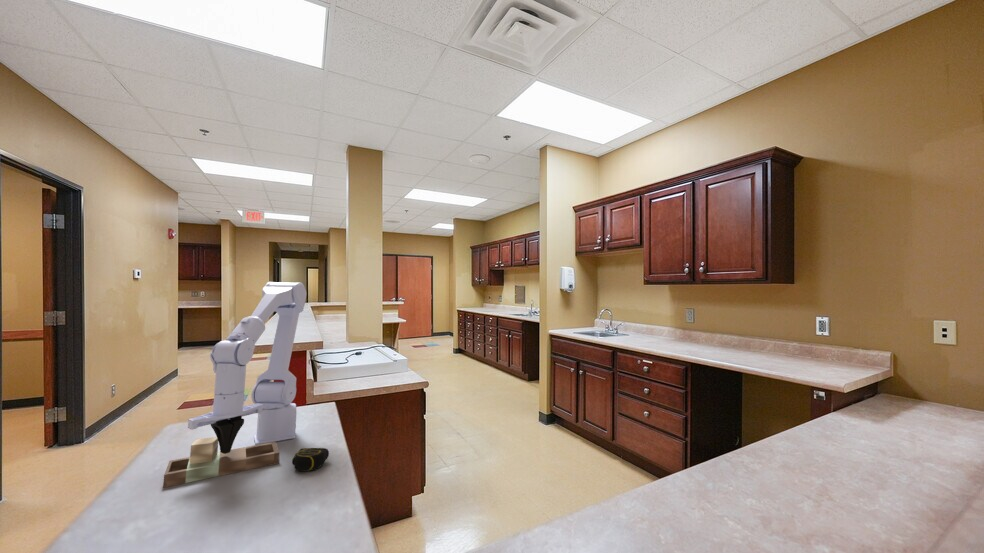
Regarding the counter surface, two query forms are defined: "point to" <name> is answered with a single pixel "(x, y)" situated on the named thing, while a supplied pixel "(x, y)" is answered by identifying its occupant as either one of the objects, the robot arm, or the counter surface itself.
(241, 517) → the counter surface
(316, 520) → the counter surface
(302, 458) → the tape measure
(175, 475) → the frame
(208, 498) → the counter surface
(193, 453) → the beech block
